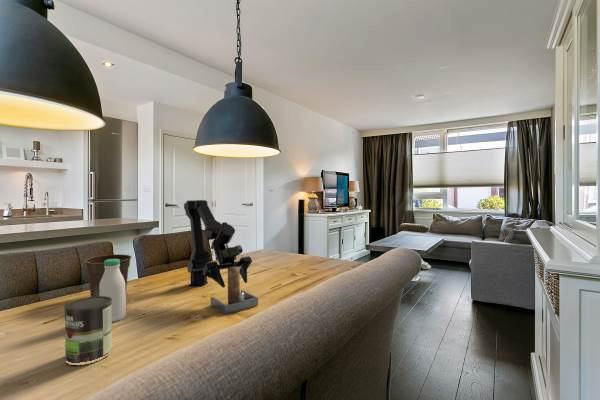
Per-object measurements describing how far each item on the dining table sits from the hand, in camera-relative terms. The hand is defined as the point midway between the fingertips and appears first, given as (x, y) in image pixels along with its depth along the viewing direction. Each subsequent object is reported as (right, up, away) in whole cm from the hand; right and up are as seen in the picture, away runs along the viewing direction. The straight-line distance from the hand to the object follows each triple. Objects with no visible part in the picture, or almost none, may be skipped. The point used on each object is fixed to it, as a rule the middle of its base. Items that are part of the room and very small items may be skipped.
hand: (235, 284), depth 117 cm
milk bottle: (-39, -9, -11) cm, 42 cm away
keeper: (-1, -8, +1) cm, 8 cm away
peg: (-1, -8, +1) cm, 8 cm away
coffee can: (-31, -9, -36) cm, 48 cm away
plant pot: (-53, -8, +10) cm, 55 cm away
